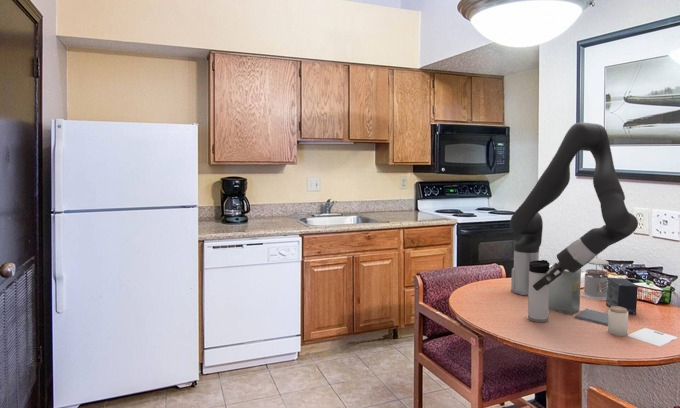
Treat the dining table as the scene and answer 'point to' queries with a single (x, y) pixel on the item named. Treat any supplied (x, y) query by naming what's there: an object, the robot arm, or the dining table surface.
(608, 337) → the dining table surface
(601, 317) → the slate pad
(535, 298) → the travel mug
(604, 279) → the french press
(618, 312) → the cream jar
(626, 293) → the small box
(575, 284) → the box
